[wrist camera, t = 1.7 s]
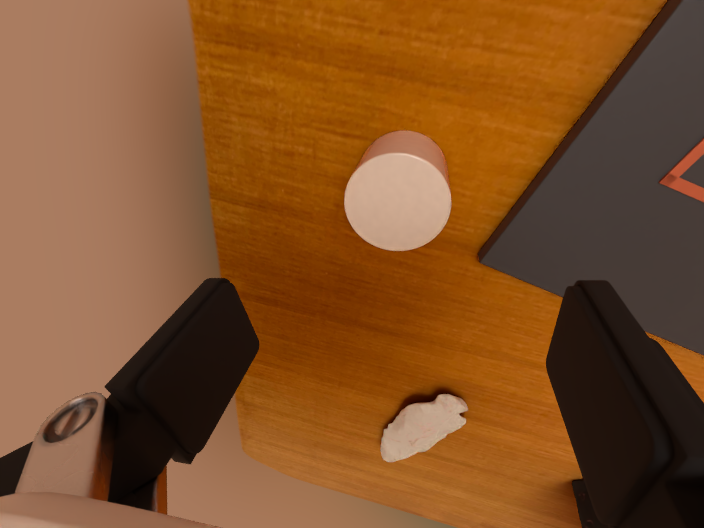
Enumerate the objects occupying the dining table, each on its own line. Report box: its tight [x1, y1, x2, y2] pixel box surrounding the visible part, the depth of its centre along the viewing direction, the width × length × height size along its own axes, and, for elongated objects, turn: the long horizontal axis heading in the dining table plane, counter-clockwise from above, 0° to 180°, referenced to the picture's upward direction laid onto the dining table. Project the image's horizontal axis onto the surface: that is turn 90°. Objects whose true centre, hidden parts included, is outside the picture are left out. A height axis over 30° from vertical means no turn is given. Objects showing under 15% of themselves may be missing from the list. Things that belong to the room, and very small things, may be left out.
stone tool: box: [380, 394, 468, 462], centre depth 32 cm, size 6×2×15 cm
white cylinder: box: [344, 131, 451, 251], centre depth 16 cm, size 5×5×4 cm
